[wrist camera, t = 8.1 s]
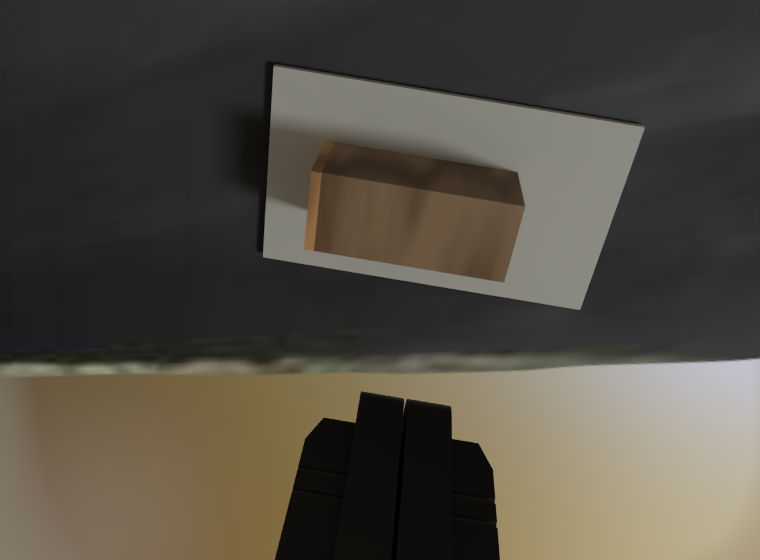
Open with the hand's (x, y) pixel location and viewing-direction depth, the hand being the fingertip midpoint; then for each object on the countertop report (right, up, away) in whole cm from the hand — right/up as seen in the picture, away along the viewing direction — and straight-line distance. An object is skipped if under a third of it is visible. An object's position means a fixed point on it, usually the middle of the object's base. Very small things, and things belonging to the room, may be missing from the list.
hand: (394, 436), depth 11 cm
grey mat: (+4, +8, +32) cm, 33 cm away
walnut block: (+8, +6, +29) cm, 31 cm away
